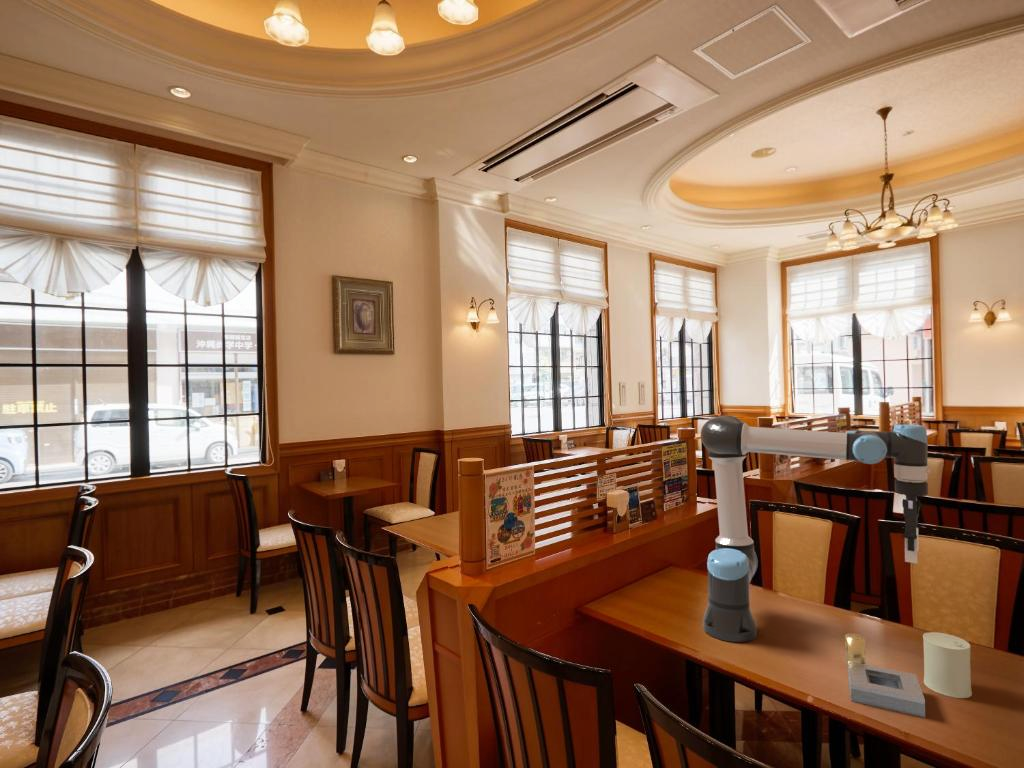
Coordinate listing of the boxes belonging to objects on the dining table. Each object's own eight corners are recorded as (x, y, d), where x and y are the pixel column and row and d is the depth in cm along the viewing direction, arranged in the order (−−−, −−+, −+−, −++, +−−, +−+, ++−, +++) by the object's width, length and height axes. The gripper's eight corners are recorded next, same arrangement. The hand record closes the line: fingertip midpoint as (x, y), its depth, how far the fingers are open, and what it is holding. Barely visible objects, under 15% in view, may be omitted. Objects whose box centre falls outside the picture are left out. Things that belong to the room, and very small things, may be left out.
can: (957, 702, 126) (956, 650, 126) (915, 682, 135) (914, 634, 135) (980, 692, 130) (979, 642, 130) (937, 674, 138) (936, 627, 138)
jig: (851, 701, 127) (850, 684, 127) (848, 676, 138) (847, 661, 138) (925, 717, 121) (924, 699, 121) (916, 690, 131) (915, 674, 131)
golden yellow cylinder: (846, 669, 141) (845, 639, 141) (845, 662, 145) (844, 632, 145) (866, 673, 139) (865, 642, 139) (864, 666, 143) (864, 635, 143)
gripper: (927, 488, 140) (928, 570, 140) (928, 475, 159) (929, 547, 159) (891, 485, 144) (892, 565, 144) (896, 472, 164) (897, 543, 164)
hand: (912, 556), depth 152 cm, fingers open, 13 cm apart
